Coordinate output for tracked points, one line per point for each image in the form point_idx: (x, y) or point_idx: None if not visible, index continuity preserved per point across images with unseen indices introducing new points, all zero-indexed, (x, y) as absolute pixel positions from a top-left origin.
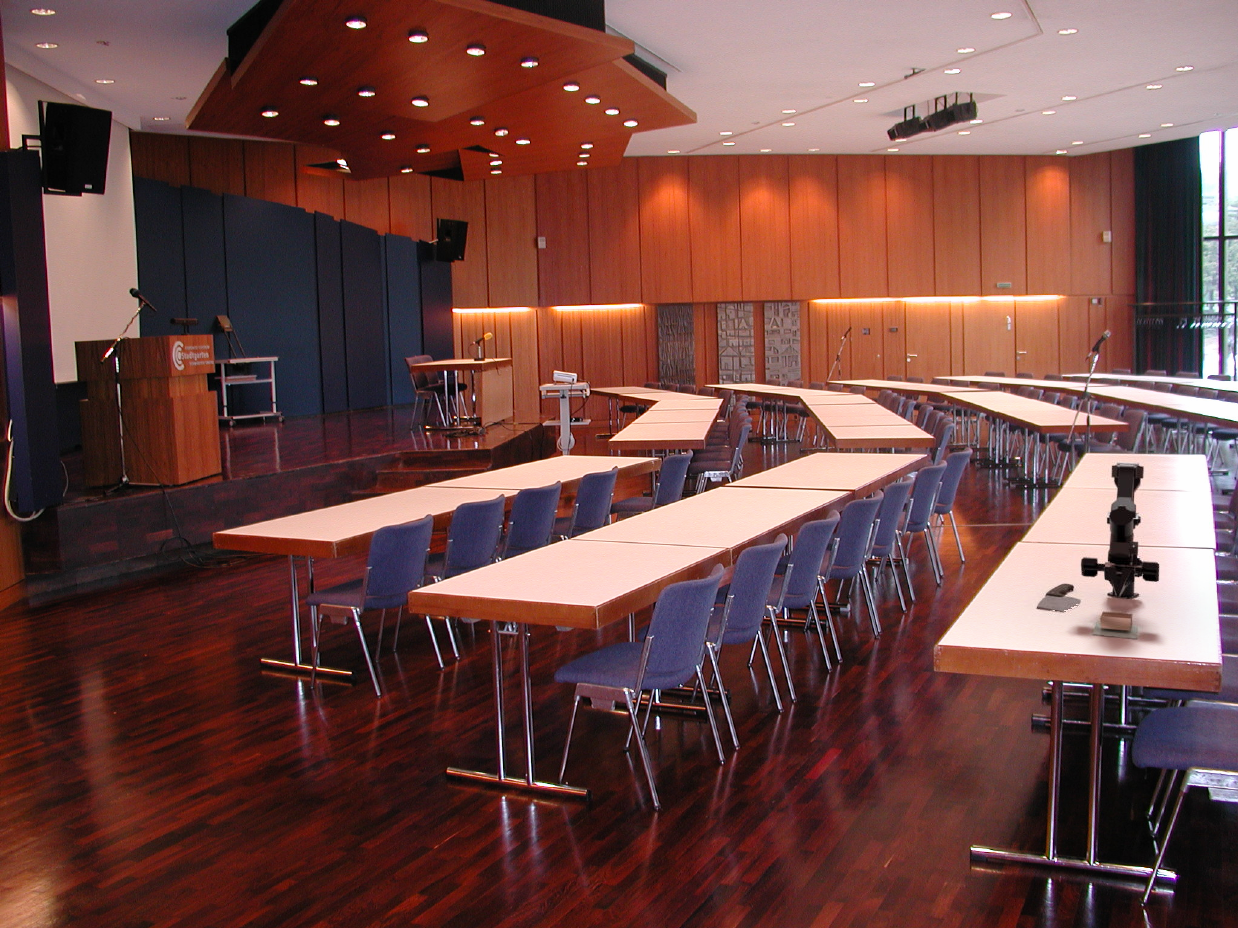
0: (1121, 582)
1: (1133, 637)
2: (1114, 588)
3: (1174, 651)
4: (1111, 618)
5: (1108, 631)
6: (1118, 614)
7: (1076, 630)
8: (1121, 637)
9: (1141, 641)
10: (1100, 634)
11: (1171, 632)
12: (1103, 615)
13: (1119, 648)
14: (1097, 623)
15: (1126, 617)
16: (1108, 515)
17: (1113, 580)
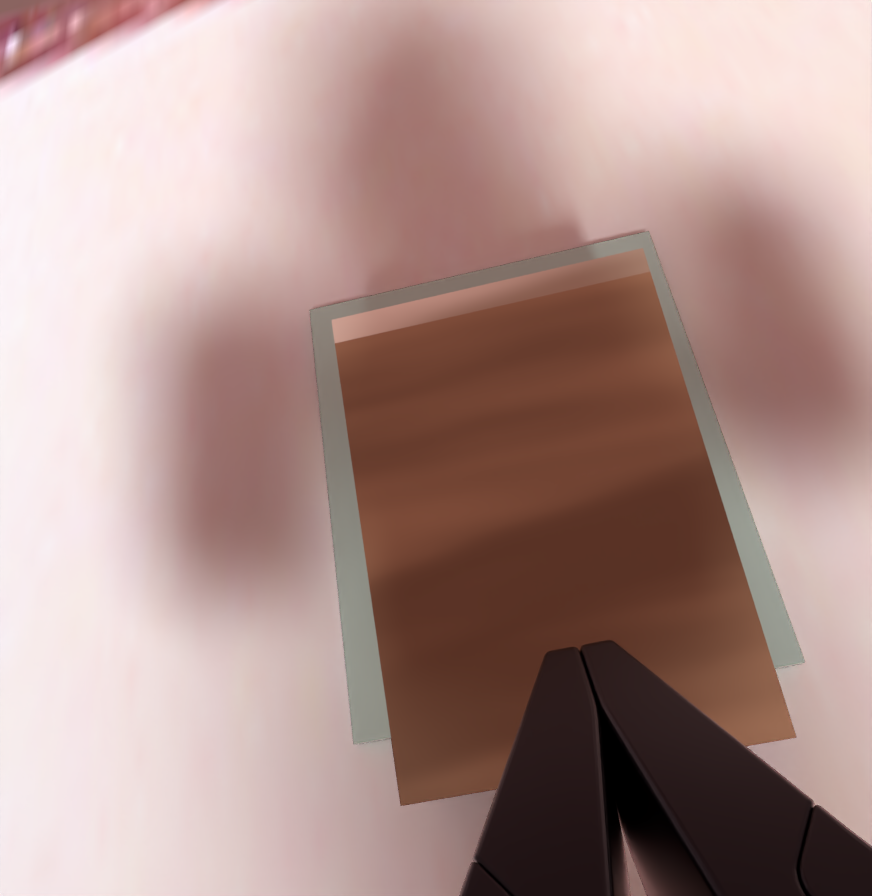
0: (558, 874)
1: (333, 313)
2: (694, 706)
3: (65, 192)
4: (527, 284)
5: None
6: (526, 564)
7: (830, 288)
8: (423, 288)
9: (273, 284)
10: (587, 247)
11: (50, 721)
12: (638, 328)
13: (381, 61)
14: (769, 617)
15: (391, 388)
16: None
17: (845, 861)
